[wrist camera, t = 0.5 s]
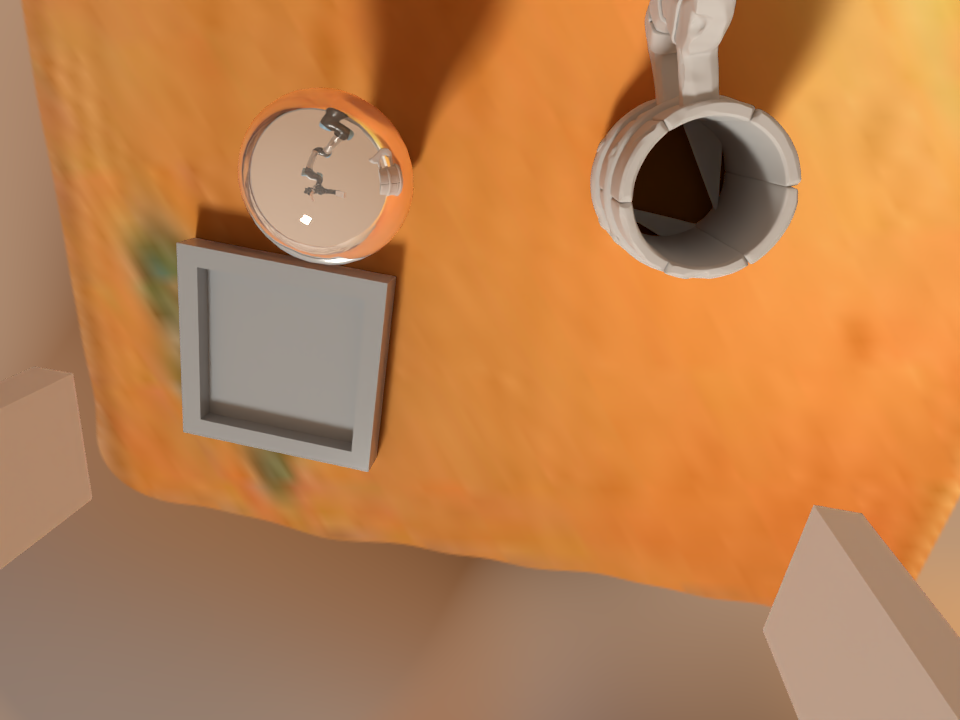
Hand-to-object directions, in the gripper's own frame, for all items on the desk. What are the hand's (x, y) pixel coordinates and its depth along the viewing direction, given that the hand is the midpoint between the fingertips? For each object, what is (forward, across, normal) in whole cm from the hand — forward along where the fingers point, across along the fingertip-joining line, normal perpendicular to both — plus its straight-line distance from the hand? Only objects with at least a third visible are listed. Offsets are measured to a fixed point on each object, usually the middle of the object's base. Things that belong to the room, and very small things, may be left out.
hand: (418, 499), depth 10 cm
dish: (+24, -13, -8) cm, 28 cm away
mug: (+24, +6, +7) cm, 26 cm away
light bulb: (+24, -8, +3) cm, 25 cm away
